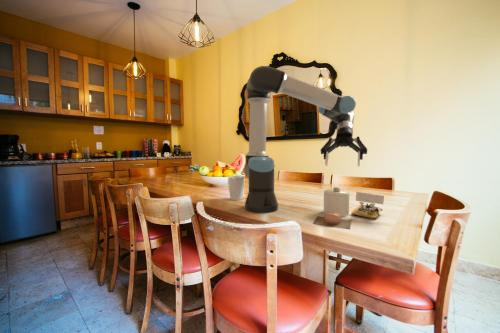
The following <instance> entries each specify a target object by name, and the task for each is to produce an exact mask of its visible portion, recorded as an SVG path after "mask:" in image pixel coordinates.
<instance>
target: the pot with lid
mask: <svg viewBox="0 0 500 333" xmlns="http://www.w3.org/2000/svg"><path fill="white" fill-rule="evenodd" d="M325 212H337V213H339V214H340V218H341V217H343V218H344V217H347V216H349V214H350V191H349V190H345V189H341V187H337V186H334V187H333V188H331V189H325V190H324V191H323V214H325Z"/></svg>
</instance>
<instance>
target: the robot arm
mask: <svg viewBox="0 0 500 333" xmlns="http://www.w3.org/2000/svg"><path fill="white" fill-rule="evenodd" d="M245 88H246V92H247V93H246V96H247V98H246V101H247V102H248V103H249V128H248V131H249V132H248V135H249V136H248V137H249V138H248V152H247V153H246V154H245V164H244V167H243V170H244V174H245V177H247V178H248V193H247V197H246V199H245V202H244V210H245V211H248V212H252V213H263V214H265V213H273V212H275V211H277V210H279V203H278V199H277V196H276V193H275V167H276V166H275V160H274V159H273V157H270V156H269V154H268V153H267V152H266V151H267V149H266V148H267V124H268V123H267V122H268V121H267V119H268V118H267V117H268V104H269V103H270V102H271V95H272V93H274V94H276V95H277V94H279V93H281V94H283V95H287V96H289V97H291V98H295V99H298V100H300V101H303V102H306V103H308V104H311V105H314V106H316V107H317V112H318V113H319V114H320V115H321V116H323V117H325V118H327V119H328V120H330V121H332V122H334V123H336V124H337V125H336V134H335V138H332V137H329V138H328V141H327V142H326V143H324V145H323V146H322V147H321V149H320V154H321V155H323V160H324V163H325V167H326V166H327V167H328V162H329V157H330V156H329V155H330V153H331V152H333V151H334V150H335V149H338V148H339V147H340V148H342V147H345V148H346V147H348V148H350V149H352V150H353V151H355V152H356V153H357V167H361V166H360V163H361V160H363V158H364V156H363V155H367V154H368V148H367V147H366V145H365V144H364V143H363V142H362V140H361V139H360V136H356V137H355V138H354V136H353V133H354V131H353V130H354V119H355V115H354V110H355V108H356V105H357V101H356V99H355V98H354V97H353V96H352V95H344V96H342V95H339V94H336V93H334V92H331V91H328V90H326V89H324V88H320V87H317V86H315V85H312V84H310V83H307V82H305V81H302V80H299V79H297V78H294V77H292V76H290V75H289V76H288V74H286V72H285V71H282V70H280V69H278V68H274V67H272V66H268V65H260V66H257V67H255V68H254V69H253V70H252V71H251V74H250V75H249V79H248V80H247V82H246V87H245Z"/></svg>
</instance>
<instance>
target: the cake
mask: <svg viewBox="0 0 500 333" xmlns="http://www.w3.org/2000/svg"><path fill="white" fill-rule="evenodd" d="M384 199H385V195H380V194H379V195H378V194H374V193H373V194H372V193H369V192H368V193H367V192H359V191H356V194H355V201H356V202H359V204H360V205H359V206H357V207H356V208H354V209H353V210H352V211H351V215H356V216H359V217H364V218H369V219H377V218H378V216H379V214H380V212H382V211H383V208H380V207H378V206H375V205H376V204H378V205H384ZM365 203H366V204H365ZM368 203H369V204H368Z"/></svg>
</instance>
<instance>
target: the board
mask: <svg viewBox="0 0 500 333" xmlns="http://www.w3.org/2000/svg"><path fill="white" fill-rule="evenodd" d="M312 225H316V226H323V227H331V228H338V229H346V230H351V225H352V220H351V219H343V218H340V224H337V225H333V224H328V223H325V216H321V215H317V216H316V218H315V219H314V221H313V223H312Z"/></svg>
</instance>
